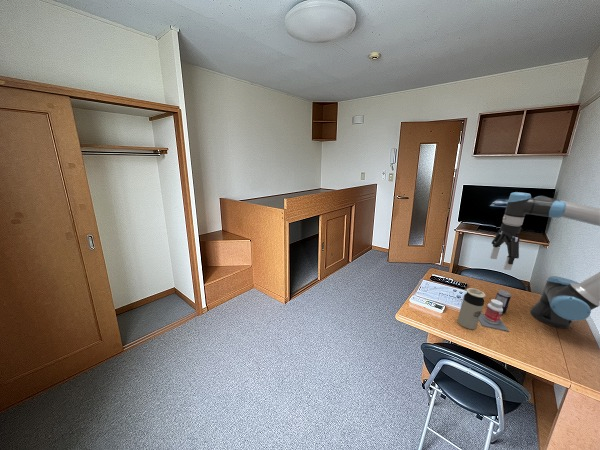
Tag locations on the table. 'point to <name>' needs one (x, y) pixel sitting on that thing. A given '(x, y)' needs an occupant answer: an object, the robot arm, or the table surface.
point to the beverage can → (503, 299)
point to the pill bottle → (493, 312)
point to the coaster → (495, 326)
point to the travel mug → (471, 308)
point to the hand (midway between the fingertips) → (499, 263)
